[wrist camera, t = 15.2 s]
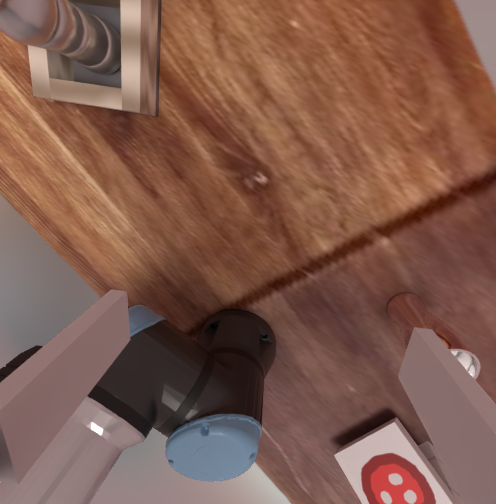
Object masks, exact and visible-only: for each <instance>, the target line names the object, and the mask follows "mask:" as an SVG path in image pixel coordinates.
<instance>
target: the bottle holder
mask: <svg viewBox="0 0 496 504" xmlns="http://www.w3.org/2000/svg"><path fill="white" fill-rule="evenodd" d="M68 1H70V2H71V3H72V4H74V5H75V6H76V7H78V8H80V9H82V10H84V11H86V12H87V13H90V14H94V15H96V16H98V17H100V18H103V19H104V20H106V21H107V22H109V23H110V24H111V25H112V26H113V27H114V29H115V30H116V31H117V32H118V34H119V35H120V37H121V66H120V67H119V69H118V70H116V71H115V72H113V73H111V74H98V73H94V72H91V71H89V70H88V69H86V68H84V67H83V66H81V65H80V64H79V63H77V62H76V61H74V60H73V59H71V58H69V57H67V56H65V55H63V54H60V53H57V52H54V51H51V50H48V49H43V48H38V47H33V46H28V52H29V61H30V70H31V79H32V88H33V96H35V97H40V98H45V99H50V100H55V101H61V102H66V103H72V104H79V105H85V106H92V107H98V108H105V109H111V110H118V111H124V112H131V113H137V114H144V115H150V116H157V117H158V101H159V65H160V29H161V0H68Z"/></svg>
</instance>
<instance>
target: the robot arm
mask: <svg viewBox="0 0 496 504" xmlns="http://www.w3.org/2000/svg"><path fill="white" fill-rule="evenodd" d="M166 319H167V318H165V317H162V316H160V315H159V314H157V313H155V312H154V311H153V310H151V309H150V308H148V307H146V306H144V305H135V306H132V307H130V308H129V309H128V300H127V291H120V290H112V289H111V290H110V291H109V292H108V293H106V294H105V295H104V296H103V297H102V298H100V299H99V300H98V301H97V302H96V303H95V304H93V305H92V306H91V307H90V308H89V309H88V310H86V311H85V312H84V313H83V314H81V315H80V316H79V317H78V318H77V319H76V320H74V321H73V322H72V323H71V324H70V325H69V326H67V327H66V328H65V329H64V330H62V331H61V332H60V333H59V334H58V335H57V336H55V337H54V338H53V339H52V340H51V341H49V342H48V343H47V344H46V345H45V346H35V347H33V348H31V349H29V350H27V351H25V352H23V353H21V354H19V355H18V356H17V357H15V358H14V359H13V360H12V361H10V362H9V363H8V364H6V367H3V368H1V369H0V481H1V483H0V504H90V502H91V500H92V499H93V497H94V496H95V494H96V492H97V491H98V489H99V488H100V486H101V485H102V483H103V481H104V480H105V478H106V477H107V475H108V473H109V472H110V470H111V469H112V467H113V466H114V464H115V463H116V461H117V459H118V458H119V456H120V455H121V453H122V452H123V451H124V450H125V449H127V448H128V447H131V446H134V445H136V444H139V443H141V442H143V441H144V440H145V439H146V437H147V435H148V434H149V432H150V430H151V429H152V427H153V428H155V429H156V430H158V431H159V432H161V433H162V434H163V435H165V436H167V437H168V439H167V441H166V457H167V459H168V462H169V464H170V465H171V466H172V468H174V469H175V470H176V471H177V472H179V473H180V474H182V475H184V476H186V477H189V478H192V479H195V480H201V481H209V482H210V481H211V482H213V481H224V480H229V479H232V478H235V477H237V476H239V475H241V474H243V473H244V472H245V471H247V470H248V469H249V468H250V467H251V465H252V464H253V463H254V461H255V459H256V457H257V454H258V447H259V441H260V437H261V434H262V427H261V426H262V409H263V391H264V379H265V377H266V375H267V373H268V371H269V369H270V368H271V366H272V364H273V362H274V359H275V354H276V340H275V336H274V333H273V331H272V329H271V328H270V326H269V325H268V324H267V323H266V322H265V321H264V320H263V319H261V318H260V317H258V316H257V315H255V314H253V313H250V312H247V311H243V310H226V311H222V312H219V313H217V314H215V315H213V316H212V317H210V318H209V319H208V320H207V321H206V322H205V324H204V325H203V327H202V330H201V332H200V334H199V337H198V343H196V342H195V341H193V340H192V339H191V338H189V337H188V336H187V335H185V334H184V333H183V332H182V331H180V330H179V329H178V328H176V327H175V326H174V325H173V324H171V323H170V322H169V321H167V320H166ZM398 378H399V380H400V382H401V384H402V386H403V388H404V389H405V391H406V393H407V395H408V397H409V399H410V401H411V403H412V405H413V407H414V409H415V410H416V412H417V414H418V416H419V418H420V420H421V422H422V424H423V426H424V428H425V429H426V431H427V433H428V435H429V437H430V439H431V441H432V443H433V445H434V447H435V449H436V450H437V452H438V454H439V456H440V458H441V460H442V462H443V464H444V466H445V468H446V470H447V471H448V473H449V475H450V477H451V479H452V481H453V483H454V485H455V487H456V489H457V491H458V492H459V494H460V496H461V498H462V500H463V502H464V504H496V404H495V403H494V402H493V401H492V399H491V398H490V397H489V396H488V395H487V393H486V392H485V391H484V390H483V389H482V388H481V386H480V385H479V384H478V383H477V382H476V381H475V379H474V378H473V377H472V376H471V375H470V374H469V372H468V371H467V370H466V369H465V368H464V366H463V365H462V364H461V363H460V362H459V361H458V359H457V358H456V357H455V356H454V355H453V354H452V352H451V351H450V350H449V349H448V348H447V346H446V345H445V344H444V343H443V342H442V341H441V339H440V338H439V337H438V336H437V335H436V334H435V332H434V331H433V330H432V329H424V328H416V327H414V329H413V332H412V335H411V338H410V341H409V344H408V347H407V350H406V353H405V356H404V359H403V362H402V365H401V368H400V371H399V374H398Z"/></svg>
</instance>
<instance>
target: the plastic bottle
mask: <svg viewBox="0 0 496 504" xmlns="http://www.w3.org/2000/svg"><path fill="white" fill-rule="evenodd" d="M0 31H2V32H3V33H4V34H5V35H7V36H8V37H9V38H11V39H12V40H14V41H16V42H19V43H21V44H25V45H28V46H33V47H38V48H43V49H48V50H51V51H54V52H57V53H60V54H63V55H65V56H67V57H69V58H71V59H73V60H74V61H76V62H77V63H79V64H80V65H81V66H83V67H84V68H86V69H88V70H89V71H91V72H94V73H98V74H111V73H113V72H115V71H116V70H118V69H119V67H120V66H121V37H120V35H119V34H118V32H117V31H116V30H115V29H114V27H113V26H112V25H111V24H110V23H109V22H107V21H106V20H104V19H103V18H100V17H98V16H96V15H94V14H90V13H87V12H86V11H84V10H82V9H80V8H78V7H76V6H75V5H74V4H72V3H71V2H70V1H68V0H0Z"/></svg>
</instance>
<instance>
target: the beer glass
mask: <svg viewBox="0 0 496 504" xmlns="http://www.w3.org/2000/svg"><path fill="white" fill-rule="evenodd" d="M387 314H388V316H389V318H390V319H391V320H392V321H393V322H394V323H395V324H396V325H397V326H398V327H399V330H400V332H401V336H402V339H403V342H404V345H405V347H406V349H407V347H408V344H409V341H410V338H411V335H412V332H413V329H414V327H416V328H424V329H432V330H433V331H434V332H435V334H436V335H437V336H438V337H439V338H440V339H441V341H442V342H443V343H444V344H445V345H446V346H447V348H448V349H449V350H450V351H451V352H452V354H453V355H454V356H455V357H456V358H457V359H458V361H459V362H460V363H461V364H462V365H463V366H464V368H465V369H466V370H467V371H468V372H469V374H470V375H471V376H472V377H473V378H474V379H476V378H477V376H478V375H479V372H480V362H479V360H478V358H477V357H476V356H475V355H474V354H473V352H472V351H471V350H470V348H469V347H468V346H467V344H466V343H465V342H464V341H463V339H462V338H461V337H460V336H459V335H458V334H457V333H456V332H455V331H454V330H453V329H452V328H451V327H450V326H448V325H447V324H446V323H445V322H443V321H442V320H440V319H439V318H437V317H436V316H435V315H433V314H432V313H430V312H429V311H428V310H427V308H426V306H425V304H424V302H423V301H422V299H421V298H420V297H419V296H417V295H415V294H412V293H402V294H399V295H397V296H395V297H394V298H392V299H391V300H390V302H389V303H388V305H387Z"/></svg>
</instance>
